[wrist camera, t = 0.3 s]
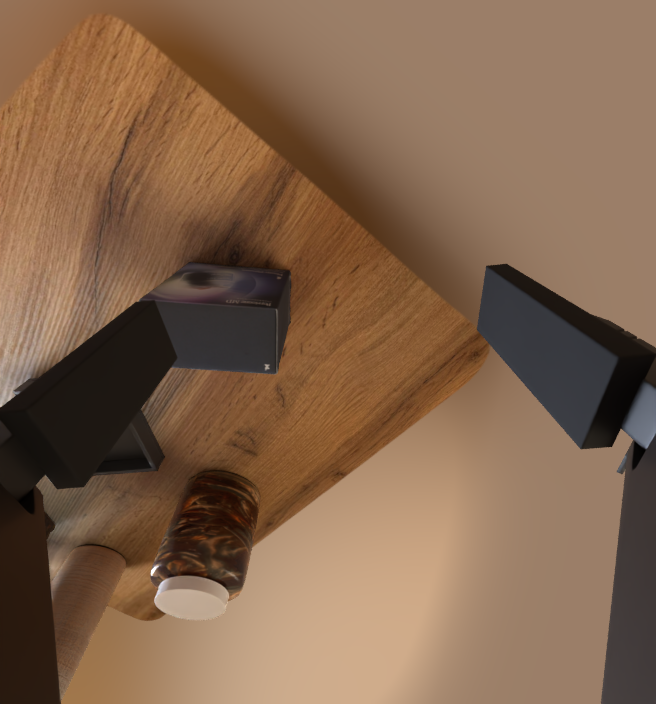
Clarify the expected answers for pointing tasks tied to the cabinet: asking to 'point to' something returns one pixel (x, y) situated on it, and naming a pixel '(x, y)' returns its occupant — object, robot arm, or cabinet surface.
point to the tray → (128, 447)
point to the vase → (81, 602)
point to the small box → (225, 316)
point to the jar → (206, 546)
